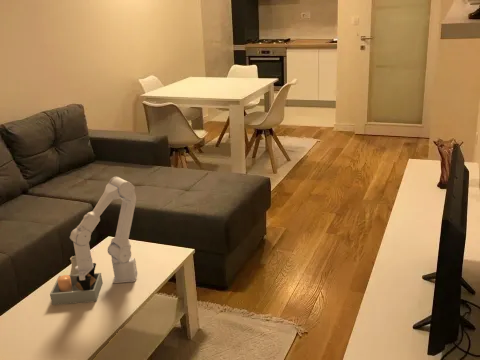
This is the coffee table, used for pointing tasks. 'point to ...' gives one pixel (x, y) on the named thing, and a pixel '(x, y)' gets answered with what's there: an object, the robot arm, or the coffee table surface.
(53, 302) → the slate tote
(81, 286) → the walnut cube
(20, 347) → the coffee table surface
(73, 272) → the flask
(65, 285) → the terracotta cylinder
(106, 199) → the robot arm
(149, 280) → the coffee table surface
